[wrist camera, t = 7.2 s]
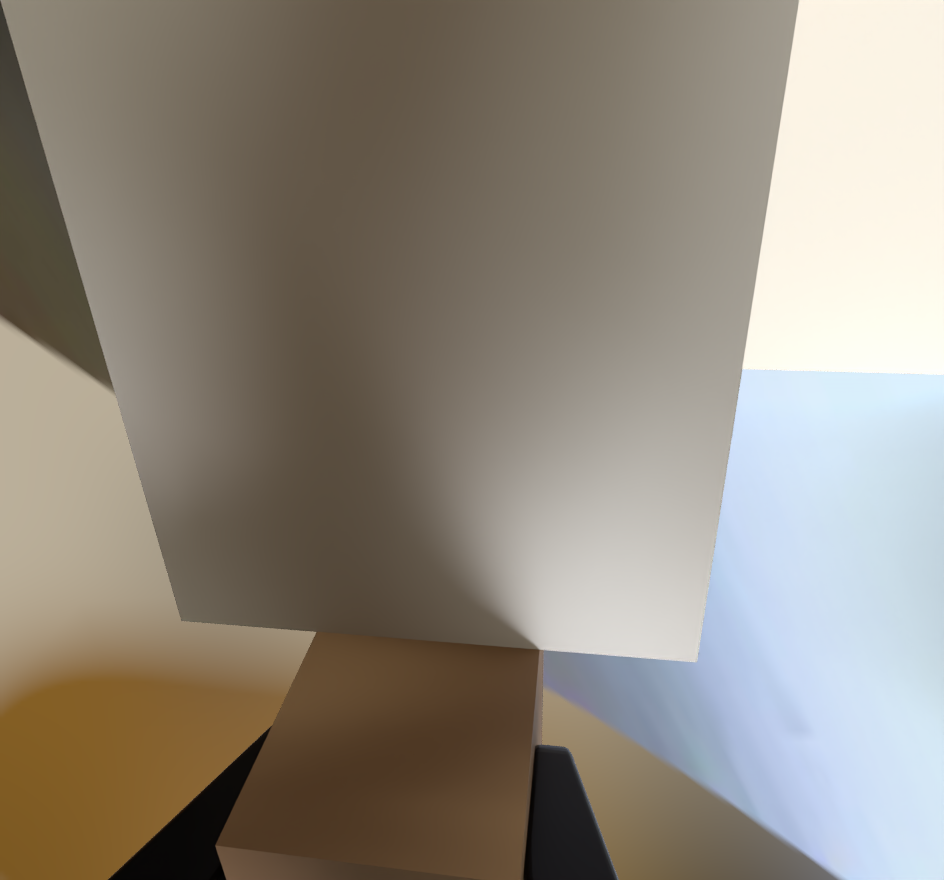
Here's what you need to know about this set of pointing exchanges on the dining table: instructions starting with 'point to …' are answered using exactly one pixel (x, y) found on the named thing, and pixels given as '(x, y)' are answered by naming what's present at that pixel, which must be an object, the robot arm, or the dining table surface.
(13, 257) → the dining table surface
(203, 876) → the robot arm
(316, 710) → the two-tone stepped block
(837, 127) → the board
